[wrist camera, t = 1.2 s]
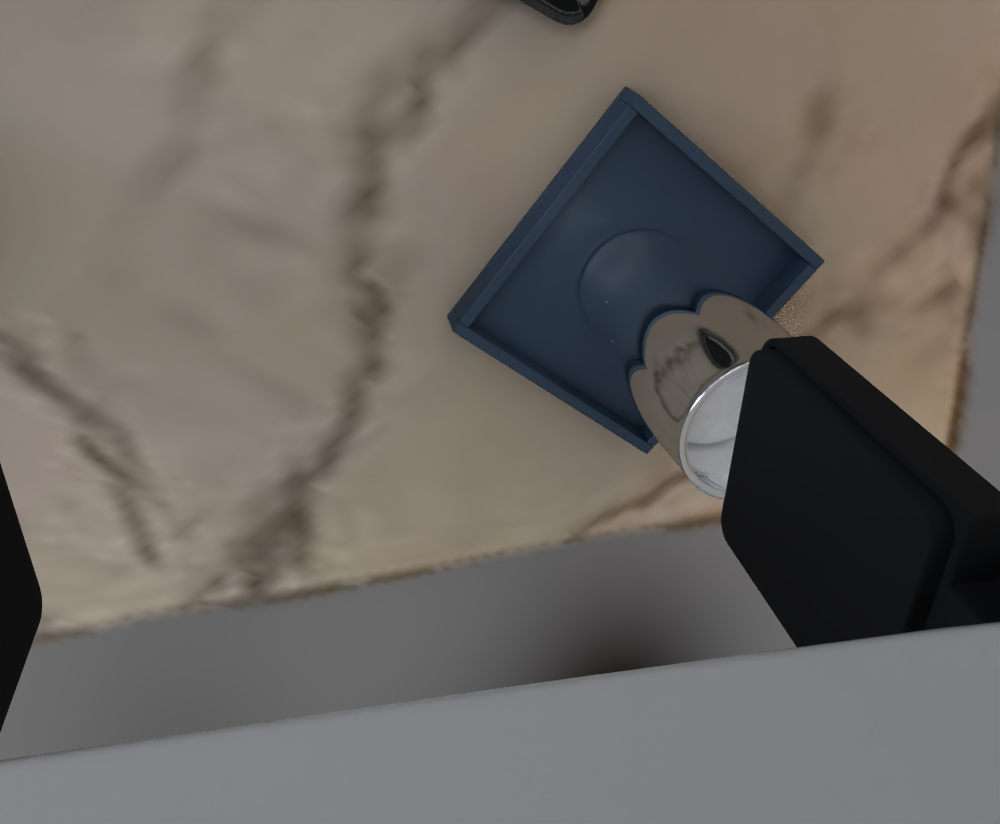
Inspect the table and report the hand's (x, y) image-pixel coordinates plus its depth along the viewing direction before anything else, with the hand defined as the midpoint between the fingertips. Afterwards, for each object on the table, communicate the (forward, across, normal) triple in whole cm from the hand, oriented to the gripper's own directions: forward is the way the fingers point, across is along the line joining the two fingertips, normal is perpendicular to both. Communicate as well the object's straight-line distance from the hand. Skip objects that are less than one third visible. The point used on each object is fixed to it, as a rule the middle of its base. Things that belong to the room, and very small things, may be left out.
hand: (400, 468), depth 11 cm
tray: (+32, -15, +11) cm, 37 cm away
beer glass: (+32, -15, +11) cm, 37 cm away
